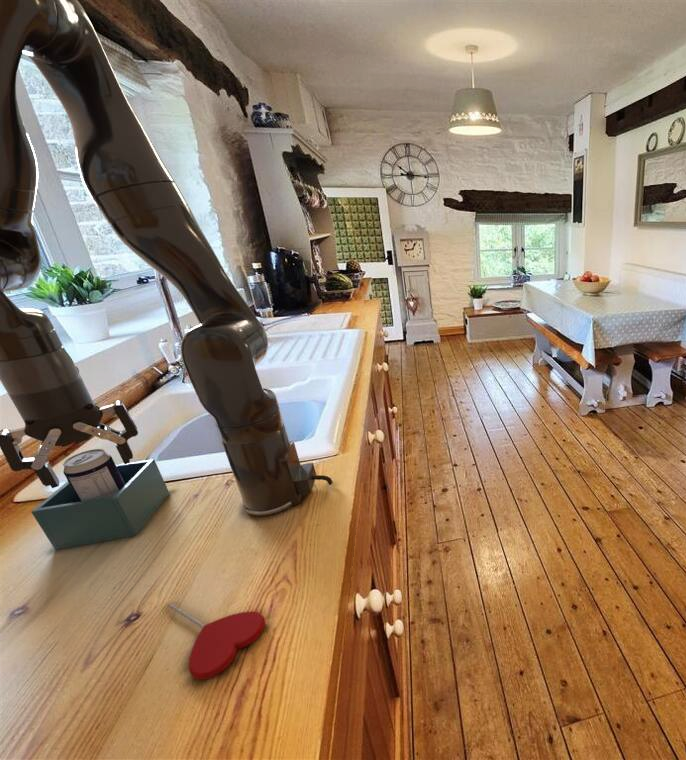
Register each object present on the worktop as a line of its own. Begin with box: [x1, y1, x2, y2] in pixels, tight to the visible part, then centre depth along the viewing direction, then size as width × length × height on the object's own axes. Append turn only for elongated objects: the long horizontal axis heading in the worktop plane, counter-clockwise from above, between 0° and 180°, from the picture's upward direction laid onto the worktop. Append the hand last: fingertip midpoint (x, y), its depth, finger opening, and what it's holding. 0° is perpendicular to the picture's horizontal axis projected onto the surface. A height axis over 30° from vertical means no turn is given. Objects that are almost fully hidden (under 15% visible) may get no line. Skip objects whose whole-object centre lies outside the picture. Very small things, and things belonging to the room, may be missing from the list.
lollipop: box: [166, 602, 266, 680], centre depth 51 cm, size 8×1×15 cm
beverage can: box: [62, 448, 125, 502], centre depth 68 cm, size 6×6×12 cm
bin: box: [30, 458, 170, 551], centre depth 69 cm, size 11×11×8 cm
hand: (93, 472), depth 66 cm, fingers open, 8 cm apart
